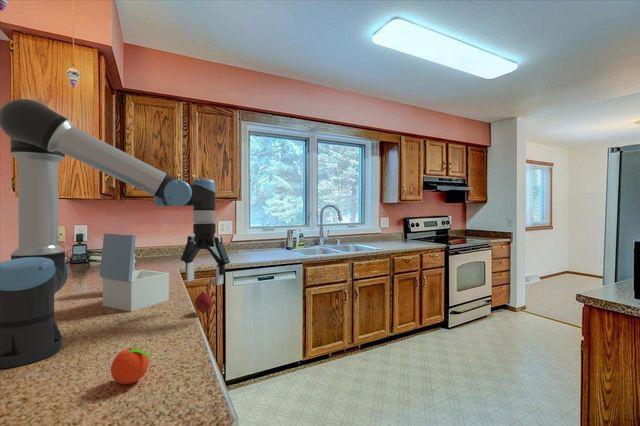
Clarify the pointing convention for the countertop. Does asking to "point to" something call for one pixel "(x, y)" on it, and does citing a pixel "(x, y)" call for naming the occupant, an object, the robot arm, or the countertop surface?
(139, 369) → the clementine
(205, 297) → the onion
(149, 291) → the storage box
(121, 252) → the lid
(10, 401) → the countertop surface
